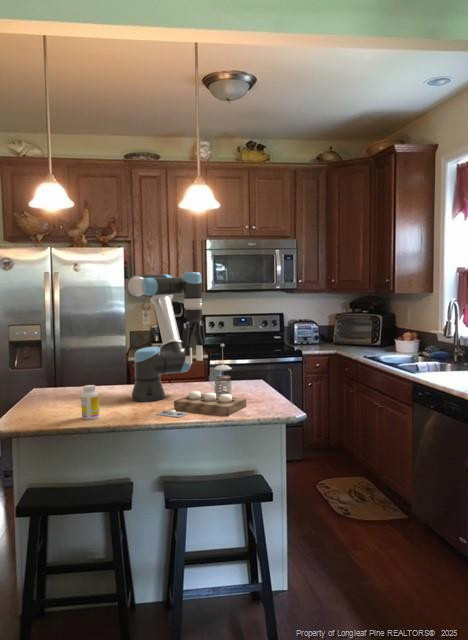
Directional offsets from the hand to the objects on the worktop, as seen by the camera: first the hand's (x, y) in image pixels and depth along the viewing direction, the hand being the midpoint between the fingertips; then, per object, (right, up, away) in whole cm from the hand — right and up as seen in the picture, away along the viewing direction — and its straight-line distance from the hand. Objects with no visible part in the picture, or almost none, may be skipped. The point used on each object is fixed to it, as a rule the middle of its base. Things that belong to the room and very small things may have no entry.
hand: (194, 361), depth 219 cm
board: (+7, -19, -2) cm, 21 cm away
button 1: (0, -16, +1) cm, 16 cm away
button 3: (+14, -17, -6) cm, 22 cm away
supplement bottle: (-40, -21, -15) cm, 48 cm away
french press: (+11, -18, +17) cm, 27 cm away
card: (-8, -20, -11) cm, 24 cm away
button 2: (+7, -16, -2) cm, 18 cm away
